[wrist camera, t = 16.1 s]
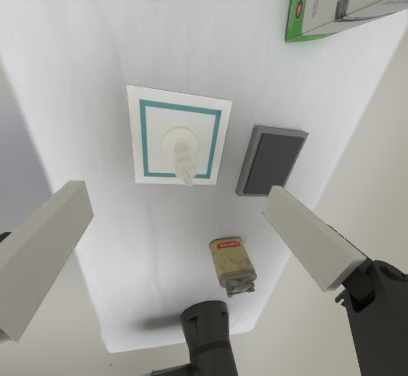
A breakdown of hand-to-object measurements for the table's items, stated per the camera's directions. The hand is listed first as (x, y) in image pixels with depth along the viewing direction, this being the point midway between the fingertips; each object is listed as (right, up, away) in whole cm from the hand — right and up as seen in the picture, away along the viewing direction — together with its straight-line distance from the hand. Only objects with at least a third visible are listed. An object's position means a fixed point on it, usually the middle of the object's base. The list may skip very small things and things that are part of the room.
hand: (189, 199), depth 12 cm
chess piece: (-2, +7, +10) cm, 12 cm away
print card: (-2, +7, +10) cm, 12 cm away
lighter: (+6, -11, +23) cm, 26 cm away
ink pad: (+11, +5, +14) cm, 18 cm away
